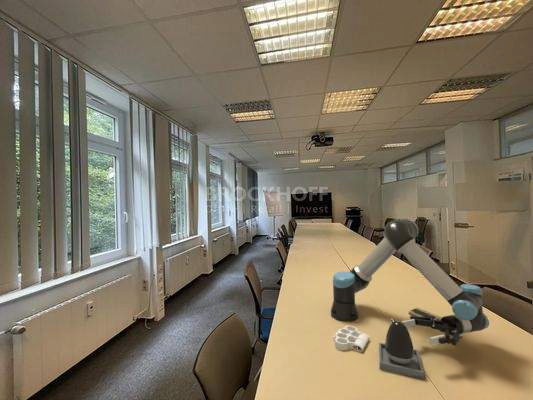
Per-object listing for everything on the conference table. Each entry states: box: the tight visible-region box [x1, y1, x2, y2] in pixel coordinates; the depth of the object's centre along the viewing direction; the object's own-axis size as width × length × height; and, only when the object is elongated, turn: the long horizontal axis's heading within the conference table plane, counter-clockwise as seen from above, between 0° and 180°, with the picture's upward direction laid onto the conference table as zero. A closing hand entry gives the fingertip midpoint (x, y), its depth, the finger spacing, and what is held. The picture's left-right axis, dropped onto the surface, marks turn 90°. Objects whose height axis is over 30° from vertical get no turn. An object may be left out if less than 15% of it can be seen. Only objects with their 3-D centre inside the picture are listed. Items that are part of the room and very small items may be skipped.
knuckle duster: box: [332, 325, 370, 353], centre depth 114 cm, size 3×18×15 cm
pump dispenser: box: [384, 317, 415, 364], centre depth 98 cm, size 10×10×15 cm
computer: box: [408, 307, 443, 326], centre depth 134 cm, size 16×8×3 cm, turn 24°
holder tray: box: [378, 342, 425, 380], centre depth 98 cm, size 15×15×2 cm
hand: (415, 332), depth 101 cm, fingers open, 13 cm apart
